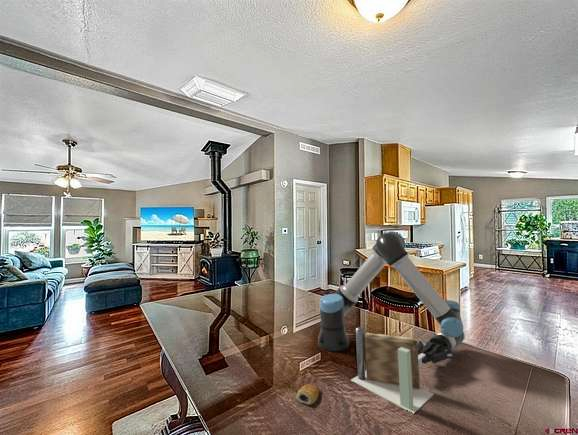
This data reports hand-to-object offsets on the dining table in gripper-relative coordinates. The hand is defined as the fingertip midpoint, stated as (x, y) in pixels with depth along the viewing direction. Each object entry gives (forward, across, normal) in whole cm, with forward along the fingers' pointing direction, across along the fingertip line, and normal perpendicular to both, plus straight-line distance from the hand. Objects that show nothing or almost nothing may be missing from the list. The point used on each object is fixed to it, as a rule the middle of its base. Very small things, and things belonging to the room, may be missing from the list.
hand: (415, 363), depth 97 cm
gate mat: (+10, +5, -7) cm, 13 cm away
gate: (+7, +5, -6) cm, 11 cm away
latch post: (+15, -4, -7) cm, 17 cm away
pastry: (+35, +21, -8) cm, 41 cm away
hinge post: (+13, +15, -7) cm, 21 cm away
